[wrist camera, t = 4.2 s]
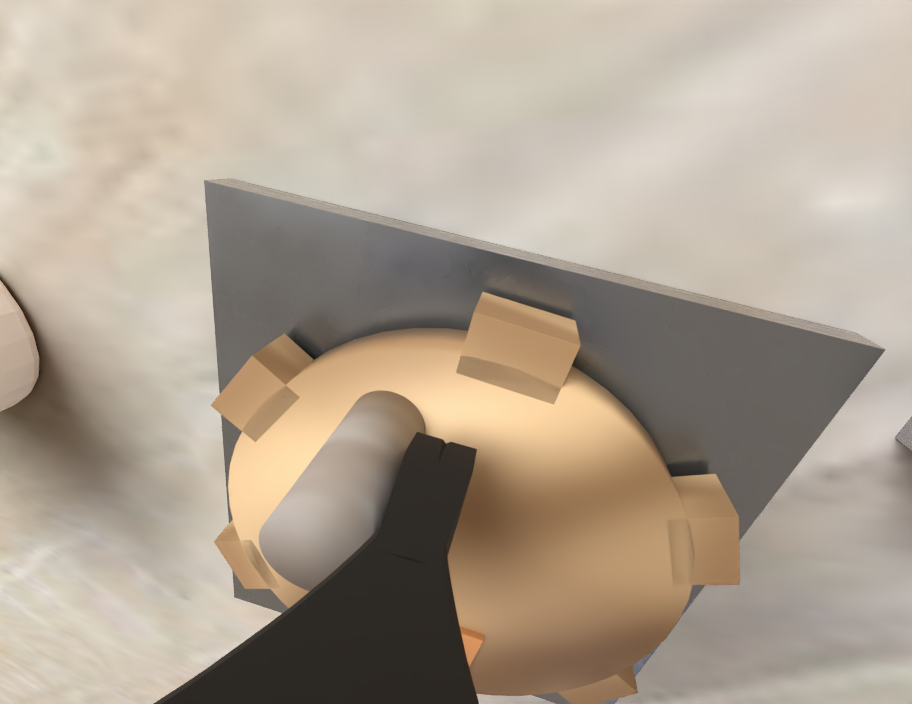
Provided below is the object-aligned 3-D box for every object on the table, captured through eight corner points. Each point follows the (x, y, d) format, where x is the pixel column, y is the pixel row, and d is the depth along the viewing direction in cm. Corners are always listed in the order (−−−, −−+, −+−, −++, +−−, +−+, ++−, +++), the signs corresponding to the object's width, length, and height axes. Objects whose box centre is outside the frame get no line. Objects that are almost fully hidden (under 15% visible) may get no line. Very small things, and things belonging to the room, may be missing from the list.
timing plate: (600, 691, 18) (603, 724, 17) (248, 577, 20) (231, 601, 19) (855, 332, 10) (892, 353, 9) (229, 178, 12) (199, 181, 11)
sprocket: (814, 582, 12) (997, 866, 7) (460, 700, 19) (430, 896, 14) (430, 162, 9) (307, 168, 4) (164, 473, 16) (-7, 618, 11)
